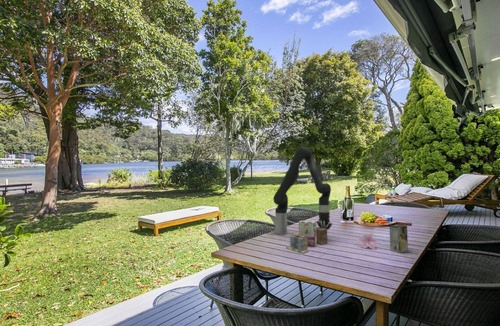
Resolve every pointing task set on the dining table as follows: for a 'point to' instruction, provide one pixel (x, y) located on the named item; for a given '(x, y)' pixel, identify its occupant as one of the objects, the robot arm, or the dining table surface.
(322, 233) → the walnut bookend
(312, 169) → the robot arm
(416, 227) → the dining table surface
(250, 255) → the dining table surface
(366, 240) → the lily
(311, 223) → the candy bar box
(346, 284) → the dining table surface
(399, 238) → the coffee box
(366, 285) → the dining table surface
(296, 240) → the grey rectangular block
